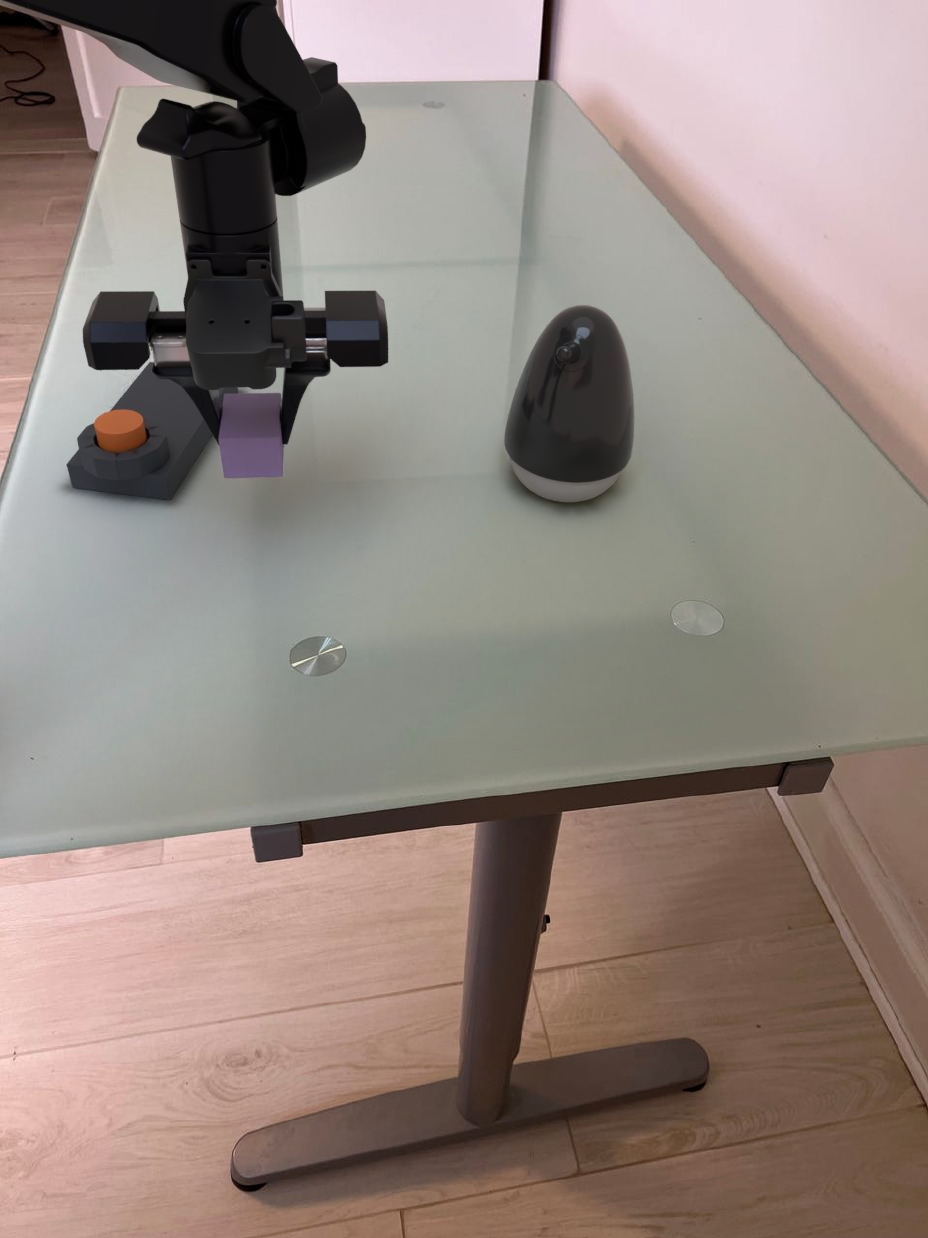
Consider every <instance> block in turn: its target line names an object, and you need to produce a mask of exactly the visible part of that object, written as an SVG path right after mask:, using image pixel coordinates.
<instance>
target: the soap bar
mask: <svg viewBox="0 0 928 1238" xmlns="http://www.w3.org/2000/svg"><path fill="white" fill-rule="evenodd" d="M281 406H282V392H253V393H249V392H247V393H246V392H245V393H238V394H224V399H223V407H222V415H221V423H220V432H219V445H218V446H219V453H220V461H221V466H222V475H223V478H224V479H256V478H258V479H259V478H262V479H263V478H283V477H284V459H285V458H284V456H285V455H284V454H285V445H283V444H282V435H281Z"/></svg>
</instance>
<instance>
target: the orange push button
mask: <svg viewBox="0 0 928 1238" xmlns="http://www.w3.org/2000/svg"><path fill="white" fill-rule="evenodd" d="M93 423H94V427H95V431H96V436H97V440H98V444H99V446H100V448H101V449H102V450H104V451H111V452H123V451H130V450H134V449H136V448H138V447H140V446H142V445H144V444H145V443H146V441H147V436H146V431H145V426H144V421H143V417H142V416H141V415H140V414H139V413H137V412H135V411H132V410H113V411H110V410H109V411H106V412H104V413H102V414H100V415H99V416H98V417H96V418H95V420H94V422H93Z"/></svg>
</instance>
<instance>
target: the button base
mask: <svg viewBox="0 0 928 1238" xmlns="http://www.w3.org/2000/svg"><path fill="white" fill-rule="evenodd" d="M153 363H154V361H149V362H148V363H147V365H146V366H145V367H144V368H143V370H142V371H141V372H140V373H139V374H138V376H137V377H136V378H135V379H134V381H132V383H131V384H130V385H129V387H128V388H127V389H126V390H125V391H124V393H123V394H122V395H121V396H120V397H119V399H118V401H116V403H115V404H114V405H113V406H112V408H111V409H110V410H109V411H113V410H132V411H135V412H137V413H139V414H140V415H141V416H142V417H143V421H144V426H145V431H146V436H147V441H146V443H145V444H144V445H142V446H140V447H138V448H136V449H134V450H130V451H123V452H111V451H104V450H102V449H101V448H100V446H99V444H98V440H97V436H96V431H95V427H94V422H93V423H91V424H88V425H87V426H85V428H84V429H83V430H82V431H81V432H80V433H79V435H78V436H77V438H76V442H77V446H78V449H77V451H76V452H75V453H74V454H73V455H72V457H71V458H70V460H68V462H67V463H66V468H67V472H68V476H69V480H70V484H71V487H72V488H73V489H81V490H89V491H96V492H104V493H111V494H120V495H128V496H136V497H141V498H142V497H143V498H151V499H158V500H167V501H171V500H172V498H173V496H174V495H175V493H176V492H177V491H178V489H179V487H180V486H181V484H182V483H183V482H184V480H185V478H186V477H187V475H188V473H189V471H190V470H191V469H192V467H193V465H194V464H195V462H196V461H197V459H198V458H199V456H200V454H201V453H202V451H203V450H204V448H205V446H206V445H207V443H208V442H209V440H210V439H211V437H212V436H213V434H212V433H211V431H210V429H209V428H208V426H207V424H206V422H205V421H204V419H203V417H202V415H201V414H200V412H199V410H198V409H197V407H196V405H195V404H194V402H193V401H192V399H191V398H190V397H189V395H188V394H187V393H186V391H185V390H184V389H183V388H182V387H181V386H180V385H179V384H177V383H175V382H173V381H172V380H169V379H159V378H157V377H155V376H154V374H153V372H152V368H153ZM218 392H219V397H220V401H221V406H222V407H223V399H224V394H239V387H233V388H220V389H218Z"/></svg>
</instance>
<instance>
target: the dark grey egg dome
mask: <svg viewBox="0 0 928 1238" xmlns="http://www.w3.org/2000/svg"><path fill="white" fill-rule="evenodd" d="M630 365H631V364H630V359H629V355H628V352H627V347H626V345H625V341H624V338H623V336H622V334H621V331H620V329H619V327H618V326H617V324H616V322H615V320H614V319H613V318H612V316H611V315H610V314H608V313H607V312H606V311H604V310H603V309H601V308H599V307H597V306H594V305H589V304H578V305H572V306H570V307H567V308H565V309H563V310H561V311H560V312H559V313H557V314H556V315H554V317H553V318H552V319H551V320H550V321H549V322H548V323H547V324H546V326H545V328H544V329H543V330H542V332H541V333H540V334H539V336H538V338H537V339H536V341H535V343H534V345H533V347H532V349H531V351H530V353H529V355H528V357H527V359H526V361H525V364H524V367H523V369H522V372H521V374H520V376H519V380H518V382H517V385H516V388H515V390H514V394H513V397H512V400H511V404H510V408H509V411H508V415H507V418H506V423H505V429H504V437H503V438H504V439H503V443H504V449H505V451H506V453H507V455H508V459H509V463H510V465H511V468H512V470H513V472H514V474H515V476H516V477H517V479H518V481H520V482H521V483H522V485H523V486H524V487H525V488H527V489H528V490H529V491H531V492H532V493H534V494H536V495H537V496H539V497H542V498H544V499H547V500H549V501H554V502H558V503H579V502H584V501H588V500H591V499H594V498H596V497H598V496H600V495H602V494H604V493H605V492H606V491H607V490H608V489H610V487H612V485H613V484H615V482H616V481H617V480H618V479H619V477H620V475H621V473H622V472H623V470H624V469H625V468H626V467H627V466H628V464H629V462H630V460H631V458H632V454H633V448H634V441H635V398H634V387H633V379H632V371H631V366H630Z"/></svg>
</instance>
